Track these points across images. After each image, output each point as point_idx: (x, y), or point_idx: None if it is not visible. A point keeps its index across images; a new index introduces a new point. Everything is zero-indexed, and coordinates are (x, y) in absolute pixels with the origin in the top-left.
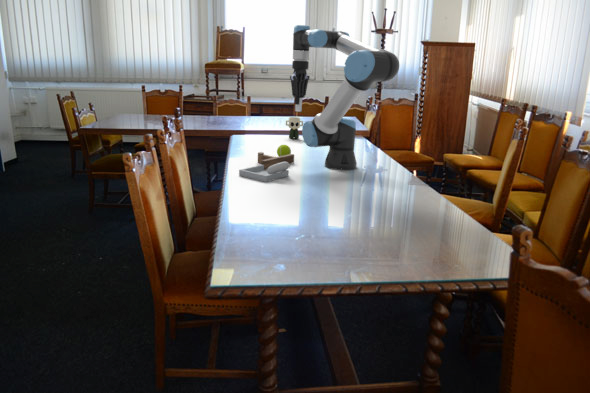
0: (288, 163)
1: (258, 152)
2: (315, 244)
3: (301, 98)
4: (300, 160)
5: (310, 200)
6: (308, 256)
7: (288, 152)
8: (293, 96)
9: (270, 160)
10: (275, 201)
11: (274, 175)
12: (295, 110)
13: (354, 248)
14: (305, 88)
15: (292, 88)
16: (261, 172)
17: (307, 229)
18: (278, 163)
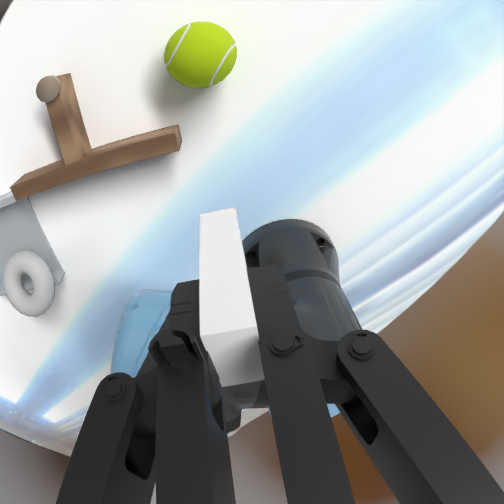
0: (45, 310)
1: (41, 81)
2: (22, 421)
3: (249, 374)
4: (237, 122)
5: (49, 380)
6: (13, 424)
7: (199, 87)
8: (151, 340)
9: (40, 190)
10: (2, 359)
11: None
12: (201, 220)
13: (48, 435)
14: (388, 477)
15: (69, 497)
16: (9, 219)
17: (22, 410)
18: (17, 309)
